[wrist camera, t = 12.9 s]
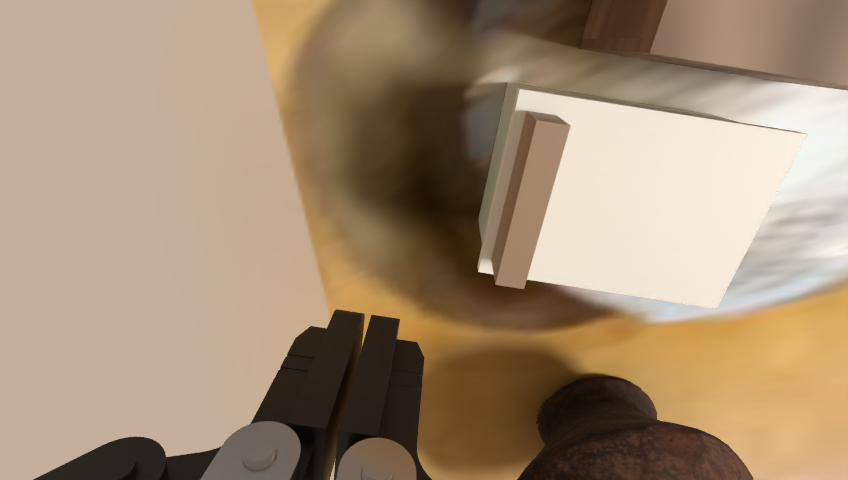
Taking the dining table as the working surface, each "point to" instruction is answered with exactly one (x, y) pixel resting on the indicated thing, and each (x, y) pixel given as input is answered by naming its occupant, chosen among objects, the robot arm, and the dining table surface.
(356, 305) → the dining table surface
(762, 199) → the lid
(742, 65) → the cover
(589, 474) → the brown rounded lump
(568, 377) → the dining table surface
